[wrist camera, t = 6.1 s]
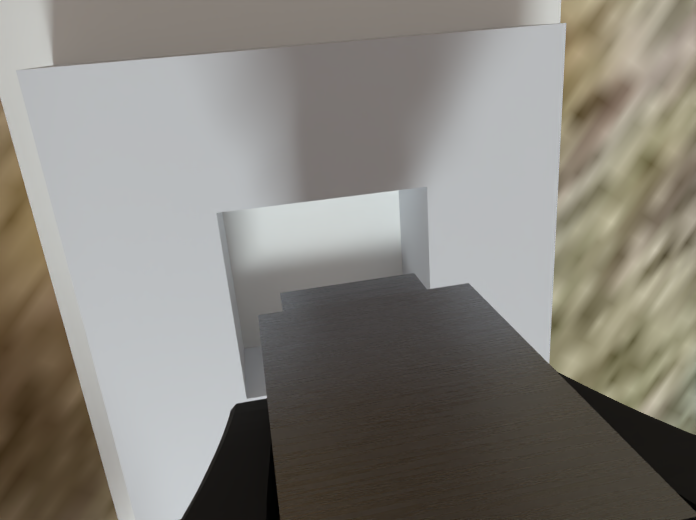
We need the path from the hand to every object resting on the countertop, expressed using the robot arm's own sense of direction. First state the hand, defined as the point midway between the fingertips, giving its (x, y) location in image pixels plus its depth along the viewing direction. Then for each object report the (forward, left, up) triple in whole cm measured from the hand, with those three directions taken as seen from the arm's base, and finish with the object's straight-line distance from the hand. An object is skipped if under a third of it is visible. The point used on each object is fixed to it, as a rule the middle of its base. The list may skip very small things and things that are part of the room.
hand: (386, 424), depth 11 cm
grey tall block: (0, 0, -3) cm, 3 cm away
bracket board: (0, 0, -10) cm, 10 cm away
